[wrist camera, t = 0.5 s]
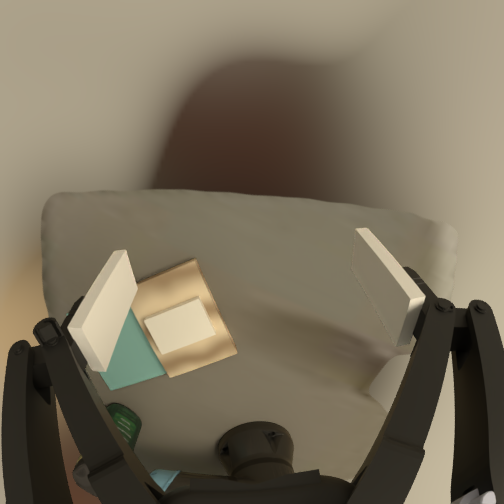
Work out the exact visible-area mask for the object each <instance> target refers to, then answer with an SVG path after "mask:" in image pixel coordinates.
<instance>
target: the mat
mask: <svg viewBox="0 0 504 504" xmlns="http://www.w3.org/2000/svg"><path fill="white" fill-rule="evenodd" d="M67 316H68V313H67ZM98 372H99V373H100V375H101V376H102V378H103V379H104V381H105V382H106V384H107V386H108V387H109V389H110V390H115V389H118V388H122V387H125V386H128V385H132V384H135V383H138V382H141V381H144V380H147V379H151V378H154V377H157V376H160V375H163V374H166V373H167V372H166V371H165V369H164V367H163V366H162V364H161V362H160V360H159V359H158V357H157V355H156V353H155V352H154V350H153V348H152V346H151V345H150V343H149V341H148V339H147V337H146V335H145V334H144V332H143V330H142V328H141V326H140V324H139V322H138V320H137V318H136V316H135V314H134V312H133V310H132V308H131V307H130V309H129V312H128V314H127V317H126V319H125V322H124V324H123V327H122V329H121V332H120V335H119V337H118V340H117V343H116V345H115V348H114V351H113V353H112V356H111V359H110V362H109V365H108V368H107V370H106V372H100V371H98Z"/></svg>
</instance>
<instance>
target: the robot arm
mask: <svg viewBox="0 0 504 504" xmlns="http://www.w3.org/2000/svg"><path fill="white" fill-rule="evenodd" d="M351 271H352V272H353V274H354V275H355V277H356V279H357V280H358V282H359V284H360V285H361V287H362V289H363V290H364V292H365V294H366V295H367V297H368V299H369V301H370V302H371V304H372V306H373V308H374V309H375V311H376V313H377V314H378V316H379V318H380V320H381V322H382V323H383V325H384V327H385V329H386V331H387V332H388V334H389V336H390V338H391V340H392V342H393V343H394V345H395V347H398V346H402V345H406V344H410V341H411V338H412V336H413V335H414V337H415V338H416V340H417V341H416V343H415V346H414V348H413V351H412V353H411V355H410V357H411V358H410V361H409V363H408V366H407V369H406V372H405V374H404V377H403V380H402V382H401V385H400V387H399V390H398V392H397V395H396V398H395V399H394V402H393V404H392V406H391V409H390V411H389V413H388V415H387V418H386V420H385V422H384V424H383V426H382V428H381V430H380V432H379V434H378V436H377V438H376V440H375V442H374V444H373V446H372V448H371V450H370V452H369V454H368V456H367V457H366V459H365V461H364V463H363V465H362V466H361V468H360V469H359V471H358V473H357V474H356V476H355V477H354V479H353V480H352V482H351V483H349V482H347V481H345V480H342V479H340V478H336V477H332V476H324V475H320V473H319V469H317V470H312V471H306V472H299V473H294V470H293V468H292V461H293V451H294V445H293V441H292V439H291V436H290V434H289V432H288V431H287V430H286V429H285V428H283V427H282V426H280V425H277V424H274V423H270V422H251V423H246V424H243V425H240V426H237V427H235V428H233V429H231V430H230V431H228V432H227V433H226V434H225V435H224V436H223V437H222V439H221V440H220V442H219V446H218V452H219V459H220V461H221V463H222V465H223V466H224V468H225V470H226V471H227V473H228V475H229V476H218V475H206V474H196V473H188V472H181V471H180V470H177V471H171V470H163V469H157V470H154V471H152V472H151V473H150V474H149V473H148V472H147V471H146V469H145V468H144V466H143V465H142V464H141V462H140V461H139V459H138V458H137V457H136V455H135V454H134V452H133V451H132V449H131V448H130V446H129V445H128V443H127V442H126V440H125V439H124V437H123V436H122V434H121V432H120V431H119V429H118V428H117V426H116V424H115V423H114V421H113V419H112V418H111V416H110V414H109V413H108V411H107V409H106V407H105V406H104V404H103V402H102V400H101V398H100V396H99V395H98V393H97V391H96V389H95V387H94V385H93V383H92V381H91V379H90V377H89V375H88V373H87V372H86V370H85V367H86V365H87V363H88V365H89V366H90V368H91V369H92V371H100V372H106V370H107V368H108V365H109V362H110V359H111V356H112V353H113V351H114V348H115V345H116V343H117V340H118V337H119V335H120V332H121V329H122V327H123V324H124V322H125V319H126V317H127V314H128V312H129V309H130V307H131V304H132V302H133V299H134V297H135V295H136V292H137V290H138V288H137V284H136V281H135V278H134V275H133V272H132V269H131V265H130V262H129V259H128V255H127V252H126V250H117V251H114V252H113V254H112V255H111V257H110V258H109V260H108V261H107V263H106V264H105V266H104V267H103V269H102V270H101V272H100V273H99V275H98V277H97V278H96V280H95V281H94V283H93V285H92V286H91V288H90V289H89V291H88V293H87V294H86V296H82V297H80V298H79V299H78V300H77V301H76V302H75V303H74V305H73V307H72V308H71V310H70V312H69V313H68V316H67V317H66V318H65V320H64V322H63V323H62V325H61V327H60V326H59V324H58V322H57V321H56V319H55V318H52V317H51V318H45V319H43V320H41V321H40V322H39V323H37V325H35V327H34V329H33V334H34V336H35V337H36V339H37V341H38V342H39V344H40V345H39V346H35V347H31V346H30V344H29V343H28V342H27V341H26V340H20V341H18V342H16V343H15V344H13V345H12V347H11V348H10V350H9V353H8V359H7V366H6V374H5V382H4V392H3V407H2V466H3V478H4V488H5V496H6V504H73V502H72V498H71V494H70V490H69V486H68V481H67V477H66V472H65V467H64V462H63V457H62V450H61V444H60V438H59V429H58V421H57V411H56V398H55V394H56V397H57V399H58V402H59V405H60V408H61V410H62V412H63V415H64V418H65V420H66V423H67V425H68V428H69V430H70V432H71V434H72V437H73V439H74V441H75V443H76V445H77V448H78V450H79V452H80V454H81V456H82V458H83V460H84V462H85V464H86V466H87V468H88V470H89V474H88V475H87V477H88V480H89V482H90V484H91V486H92V488H93V490H94V491H95V493H96V495H97V496H98V498H99V500H100V501H101V503H102V504H403V503H404V501H405V499H406V497H407V495H408V493H409V491H410V489H411V486H412V484H413V482H414V480H415V478H416V475H417V473H418V471H419V468H420V466H421V463H422V461H423V458H424V455H425V450H424V449H423V446H424V443H425V440H426V438H427V435H428V432H429V429H430V426H431V422H432V419H433V417H434V413H435V410H436V406H437V403H438V399H439V396H440V392H441V388H442V384H443V380H444V376H445V372H446V367H447V362H448V358H449V353H450V351H451V354H452V364H453V376H454V393H455V394H454V395H455V438H454V458H453V469H452V479H451V504H504V348H503V345H502V341H501V337H500V334H499V330H498V327H497V324H496V321H495V317H494V314H493V311H492V309H491V307H490V306H489V305H488V304H487V303H486V302H484V301H481V300H473V301H471V302H470V303H469V306H468V308H467V309H465V308H464V309H463V308H455V306H454V304H453V303H451V302H450V301H449V300H446V299H443V298H437V297H436V295H435V294H434V293H433V292H432V290H431V289H430V288H429V287H428V286H427V284H426V283H425V282H424V281H423V280H422V279H421V278H420V276H419V275H418V274H417V273H416V272H415V271H414V270H412V269H411V268H409V267H401V266H400V264H399V263H398V262H397V261H396V260H395V258H394V257H393V256H392V255H391V254H390V253H389V252H388V250H387V249H386V248H385V247H384V246H383V245H382V244H381V243H380V241H379V240H378V239H377V238H376V237H375V236H374V235H373V234H372V233H371V231H370V230H369V229H368V228H358V229H355V237H354V248H353V257H352V266H351Z"/></svg>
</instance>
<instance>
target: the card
mask: <svg viewBox="0 0 504 504" xmlns="http://www.w3.org/2000/svg"><path fill="white" fill-rule="evenodd" d="M144 322H145V324H146V326H147V328H148V330H149V332H150V334H151V336H152V337H153V339H154V341H155V343H156V345H157V347H158V348H159V350H160V352H161V354H162V355H163V354H166V353H168V352H171V351H174V350H177V349H179V348H182V347H185V346H187V345H190V344H193V343H195V342H198V341H200V340H203V339H206V338H208V337H211V336H213V335H216V330H215V328H214V326H213V324H212V322H211V320H210V318H209V315H208V313H207V311H206V309H205V307H204V305H203V303H202V301H201V298H200V296H197V297H195V298H192V299H190V300H187V301H185V302H182V303H180V304H177V305H175V306H172V307H170V308H167V309H165V310H162V311H160V312H157V313H155V314H152V315H150V316H147V317H146V318H145V319H144Z"/></svg>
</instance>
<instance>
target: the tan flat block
mask: <svg viewBox="0 0 504 504" xmlns="http://www.w3.org/2000/svg"><path fill="white" fill-rule="evenodd" d="M136 284H137V288H138V290H137V292H136V295H135V297H134V299H133V302H132V304H131V308H132V310H133V312H134V314H135V316H136V318H137V320H138V322H139V324H140V326H141V328H142V330H143V332H144V334H145V335H146V337H147V339H148V341H149V343H150V345H151V346H152V348H153V350H154V352H155V353H156V355H157V357H158V359H159V360H160V362H161V364H162V366H163V367H164V369H165V371H166V372H167V374H168V376H169V377H170V378H171V377H174V376H177V375H180V374H183V373H186V372H188V371H191V370H194V369H197V368H200V367H202V366H205V365H208V364H211V363H213V362H216V361H219V360H221V359H224V358H226V357H229V356H231V355H234V354H237V348H236V345H235V343H234V341H233V339H232V337H231V335H230V333H229V331H228V328H227V326H226V324H225V322H224V320H223V318H222V316H221V313H220V311H219V309H218V307H217V305H216V303H215V300H214V298H213V296H212V294H211V292H210V289H209V287H208V285H207V283H206V280H205V278H204V276H203V274H202V271H201V269H200V267H199V264H198V262H197V260H196V258H194V259H192V260H189V261H187V262H184V263H182V264H180V265H177V266H175V267H173V268H170V269H168V270H166V271H163V272H161V273H159V274H156V275H154V276H152V277H149V278H147V279H145V280H142V281H140V282H138V283H136ZM197 296H200V298H201V301H202V303H203V305H204V307H205V309H206V311H207V313H208V315H209V318H210V320H211V322H212V324H213V326H214V328H215V330H216V335H213V336H211V337H208V338H206V339H203V340H200V341H198V342H195V343H193V344H190V345H187V346H185V347H182V348H179V349H177V350H174V351H171V352H168V353H166V354H163V355H162V354H161V352H160V350H159V348H158V347H157V345H156V343H155V341H154V339H153V337H152V336H151V334H150V332H149V330H148V328H147V326H146V324H145V322H144V319H145V318H146V317H147V316H150V315H152V314H155V313H157V312H160V311H162V310H165V309H167V308H170V307H172V306H175V305H177V304H180V303H182V302H185V301H187V300H190V299H192V298H195V297H197Z"/></svg>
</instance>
